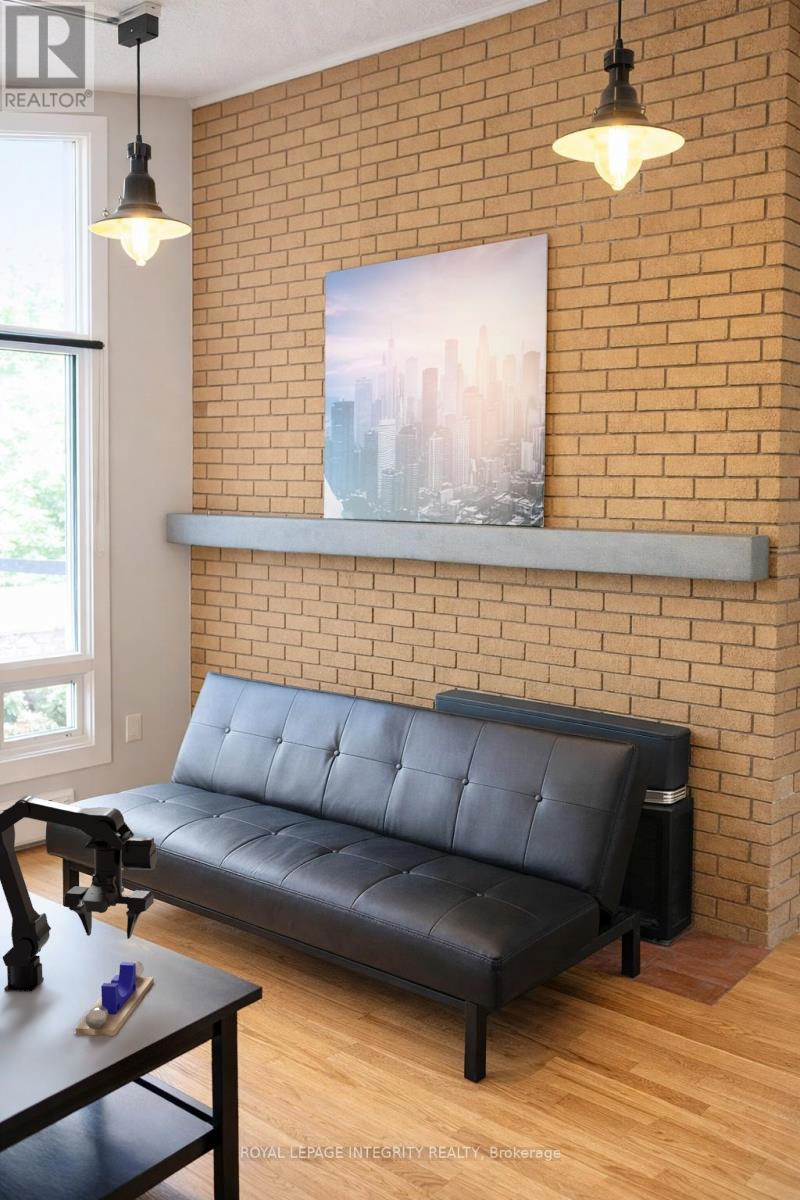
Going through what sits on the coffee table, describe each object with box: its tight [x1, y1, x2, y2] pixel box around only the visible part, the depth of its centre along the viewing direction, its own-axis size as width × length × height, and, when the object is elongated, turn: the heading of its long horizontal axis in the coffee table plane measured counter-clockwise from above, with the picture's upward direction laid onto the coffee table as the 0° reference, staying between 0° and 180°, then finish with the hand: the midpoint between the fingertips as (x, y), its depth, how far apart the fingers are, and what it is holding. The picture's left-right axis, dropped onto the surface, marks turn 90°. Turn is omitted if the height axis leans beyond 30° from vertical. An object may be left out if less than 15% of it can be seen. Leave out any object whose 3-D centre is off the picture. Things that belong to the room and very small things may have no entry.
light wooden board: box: [74, 975, 155, 1037], centre depth 239 cm, size 8×25×1 cm, turn 174°
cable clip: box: [100, 961, 136, 1014], centre depth 239 cm, size 12×4×6 cm, turn 173°
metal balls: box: [85, 960, 145, 1029], centre depth 239 cm, size 4×25×4 cm, turn 174°
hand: (109, 936), depth 247 cm, fingers open, 9 cm apart
